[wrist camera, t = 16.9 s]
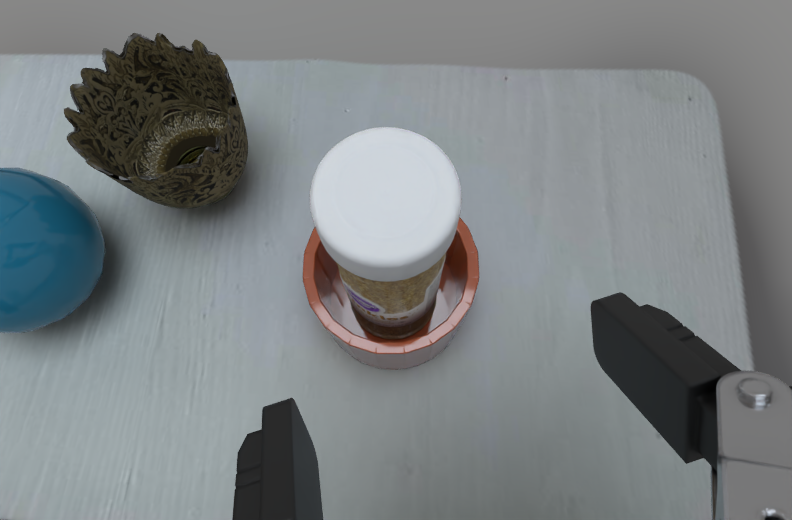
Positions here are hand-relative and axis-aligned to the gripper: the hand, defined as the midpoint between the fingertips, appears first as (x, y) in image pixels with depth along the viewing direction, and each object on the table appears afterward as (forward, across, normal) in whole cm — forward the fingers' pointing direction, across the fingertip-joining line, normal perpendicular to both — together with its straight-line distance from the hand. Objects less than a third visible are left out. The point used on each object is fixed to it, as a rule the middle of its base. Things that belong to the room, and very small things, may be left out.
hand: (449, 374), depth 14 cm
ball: (+19, +17, +1) cm, 26 cm away
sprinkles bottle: (+14, 0, +6) cm, 15 cm away
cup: (+21, +8, -1) cm, 23 cm away
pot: (+14, 0, +6) cm, 15 cm away
